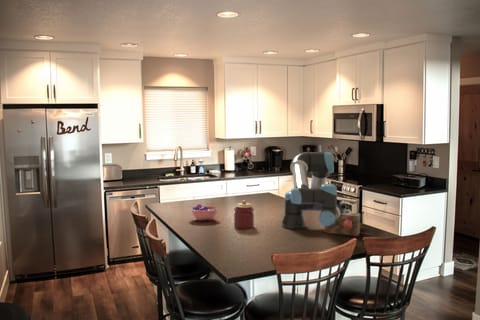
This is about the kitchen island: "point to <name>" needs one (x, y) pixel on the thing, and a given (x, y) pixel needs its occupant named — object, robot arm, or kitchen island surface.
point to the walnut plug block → (340, 229)
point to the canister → (244, 216)
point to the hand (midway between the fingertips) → (343, 203)
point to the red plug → (348, 224)
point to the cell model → (204, 212)
